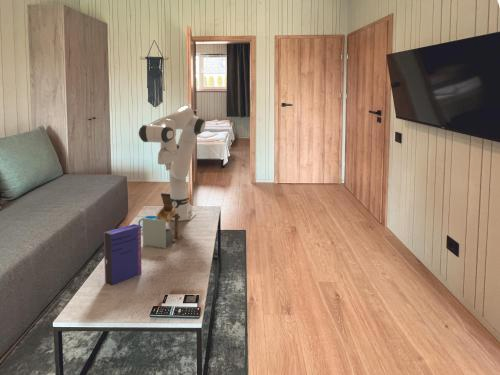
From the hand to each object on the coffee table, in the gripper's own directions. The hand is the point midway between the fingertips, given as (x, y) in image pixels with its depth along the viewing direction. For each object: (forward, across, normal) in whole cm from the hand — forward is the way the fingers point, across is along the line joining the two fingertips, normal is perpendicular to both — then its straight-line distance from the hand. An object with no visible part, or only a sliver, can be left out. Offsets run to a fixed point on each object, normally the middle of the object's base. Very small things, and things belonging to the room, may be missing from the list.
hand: (168, 170), depth 292 cm
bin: (+39, -21, -5) cm, 45 cm away
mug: (+39, +1, +15) cm, 42 cm away
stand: (+39, -10, -5) cm, 41 cm away
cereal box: (+39, -71, -14) cm, 82 cm away
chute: (+26, -11, -5) cm, 29 cm away
